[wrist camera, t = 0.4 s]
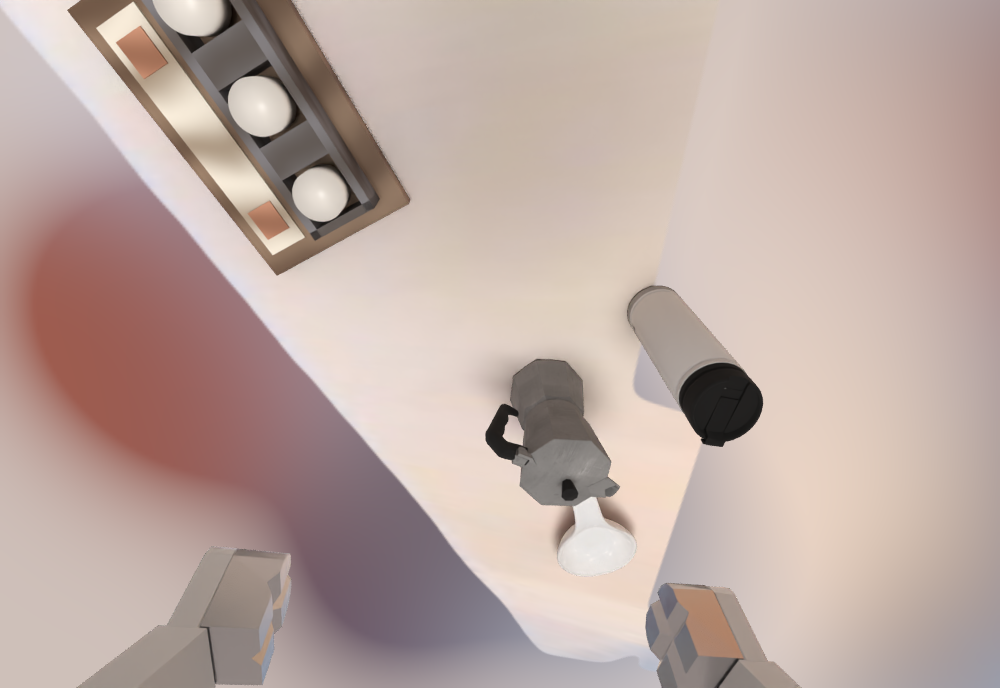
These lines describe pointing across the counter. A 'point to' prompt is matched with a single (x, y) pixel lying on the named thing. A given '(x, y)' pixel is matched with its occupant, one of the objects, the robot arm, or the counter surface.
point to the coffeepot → (552, 437)
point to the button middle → (261, 105)
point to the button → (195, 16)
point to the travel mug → (695, 367)
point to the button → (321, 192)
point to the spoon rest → (594, 543)
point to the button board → (223, 143)
